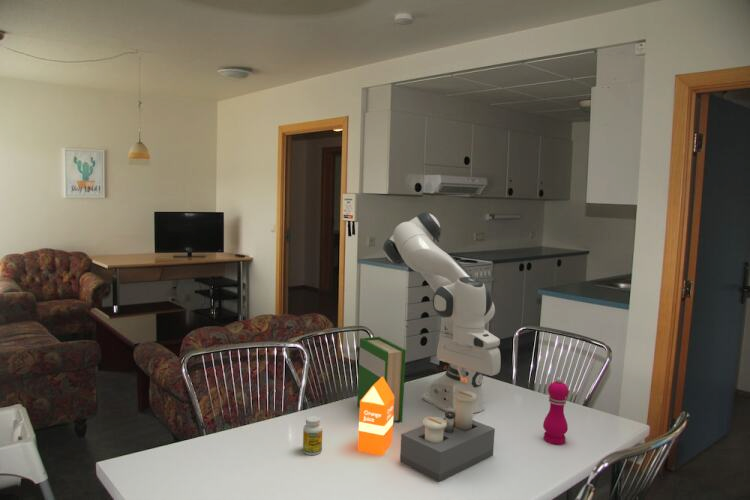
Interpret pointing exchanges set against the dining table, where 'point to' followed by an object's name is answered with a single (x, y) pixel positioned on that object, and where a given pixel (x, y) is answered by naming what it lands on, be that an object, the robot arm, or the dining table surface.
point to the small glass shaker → (449, 421)
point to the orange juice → (376, 419)
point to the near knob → (434, 429)
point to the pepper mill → (556, 413)
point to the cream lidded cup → (464, 409)
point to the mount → (447, 450)
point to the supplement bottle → (312, 436)
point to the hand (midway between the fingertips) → (465, 382)
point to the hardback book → (382, 370)
